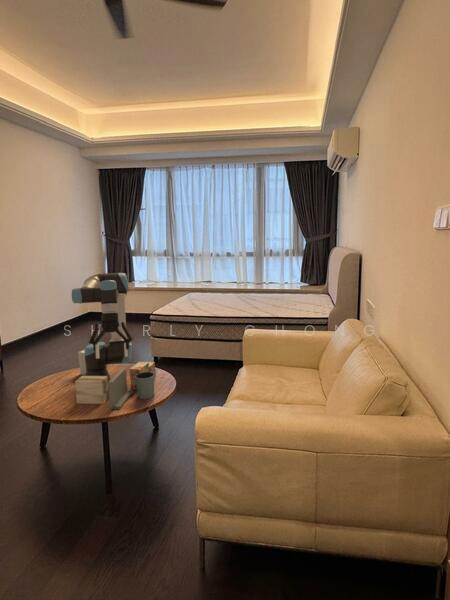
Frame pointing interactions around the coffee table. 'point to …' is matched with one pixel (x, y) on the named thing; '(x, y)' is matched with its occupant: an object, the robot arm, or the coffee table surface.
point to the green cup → (145, 384)
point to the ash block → (92, 389)
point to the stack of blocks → (138, 369)
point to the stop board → (119, 390)
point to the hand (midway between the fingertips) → (111, 357)
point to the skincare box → (82, 362)
